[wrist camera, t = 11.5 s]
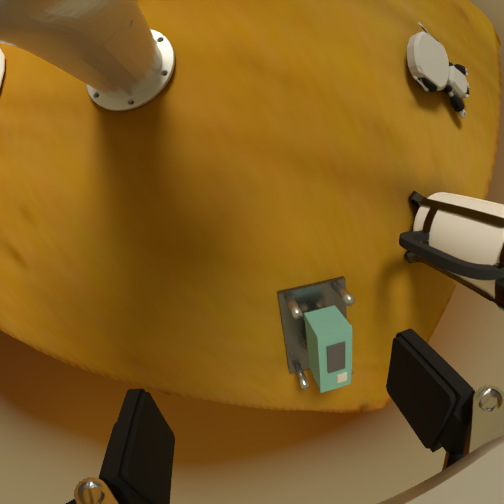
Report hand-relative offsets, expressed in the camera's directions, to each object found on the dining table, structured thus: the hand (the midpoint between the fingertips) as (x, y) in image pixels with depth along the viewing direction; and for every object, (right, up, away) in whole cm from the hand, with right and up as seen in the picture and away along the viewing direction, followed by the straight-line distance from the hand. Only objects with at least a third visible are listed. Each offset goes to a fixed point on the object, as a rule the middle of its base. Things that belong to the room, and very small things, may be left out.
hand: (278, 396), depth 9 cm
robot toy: (+30, +35, +23) cm, 52 cm away
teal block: (+9, -7, +29) cm, 32 cm away
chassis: (+9, -6, +32) cm, 34 cm away
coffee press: (+27, +9, +30) cm, 42 cm away
